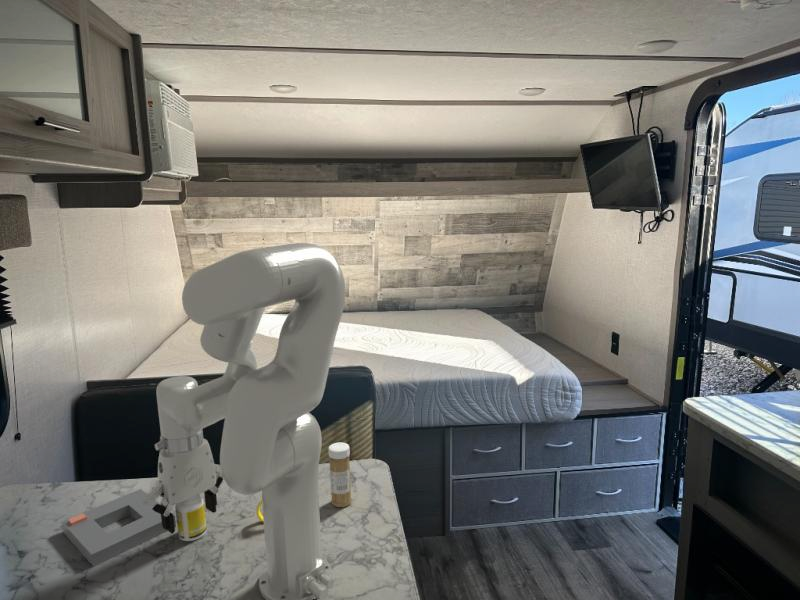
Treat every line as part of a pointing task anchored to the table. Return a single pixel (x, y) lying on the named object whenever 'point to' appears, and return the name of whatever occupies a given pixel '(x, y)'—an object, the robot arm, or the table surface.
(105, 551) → the block with square hole
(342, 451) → the sprinkles bottle
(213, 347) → the robot arm
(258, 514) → the watch
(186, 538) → the supplement bottle
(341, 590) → the table surface
